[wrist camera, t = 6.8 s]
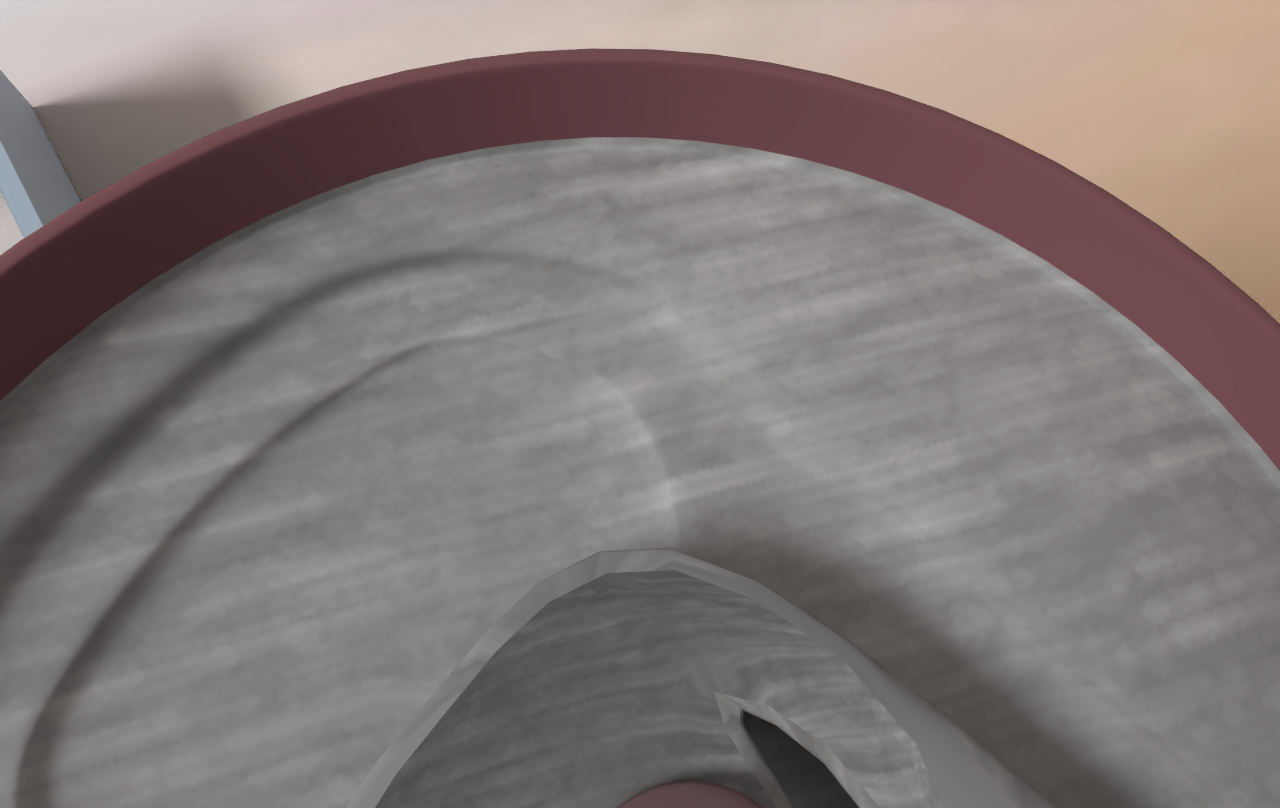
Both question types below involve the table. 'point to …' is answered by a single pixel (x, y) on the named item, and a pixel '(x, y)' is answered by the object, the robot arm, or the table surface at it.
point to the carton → (29, 165)
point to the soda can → (631, 463)
